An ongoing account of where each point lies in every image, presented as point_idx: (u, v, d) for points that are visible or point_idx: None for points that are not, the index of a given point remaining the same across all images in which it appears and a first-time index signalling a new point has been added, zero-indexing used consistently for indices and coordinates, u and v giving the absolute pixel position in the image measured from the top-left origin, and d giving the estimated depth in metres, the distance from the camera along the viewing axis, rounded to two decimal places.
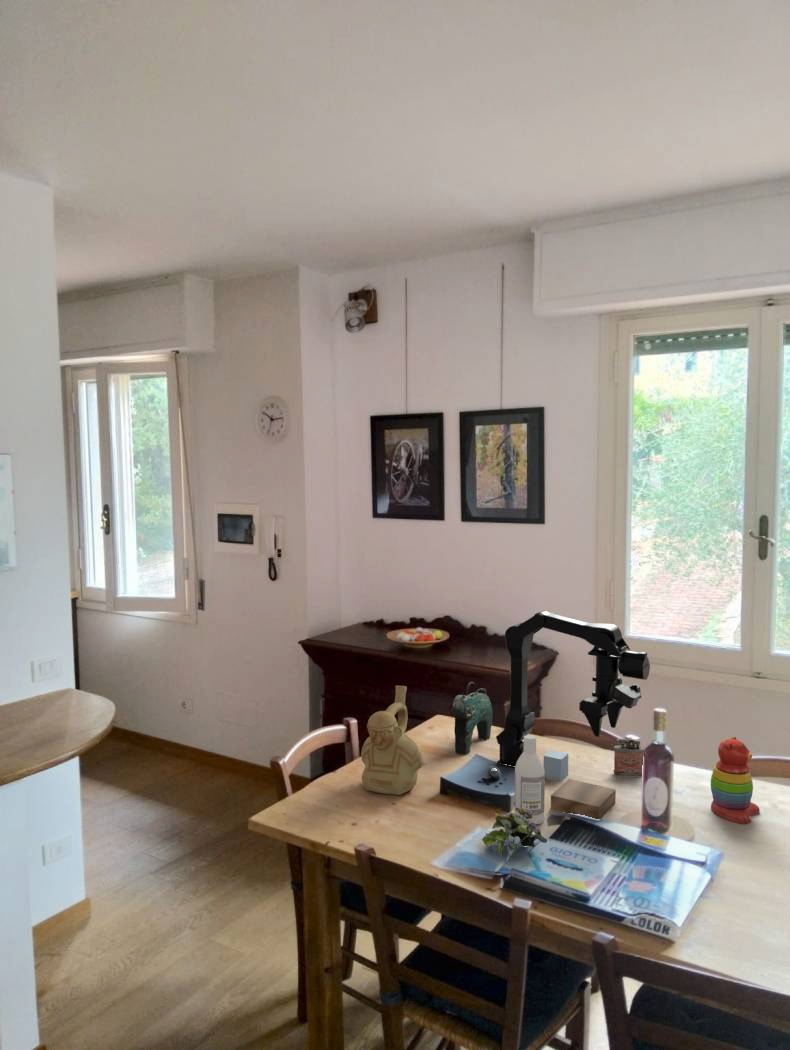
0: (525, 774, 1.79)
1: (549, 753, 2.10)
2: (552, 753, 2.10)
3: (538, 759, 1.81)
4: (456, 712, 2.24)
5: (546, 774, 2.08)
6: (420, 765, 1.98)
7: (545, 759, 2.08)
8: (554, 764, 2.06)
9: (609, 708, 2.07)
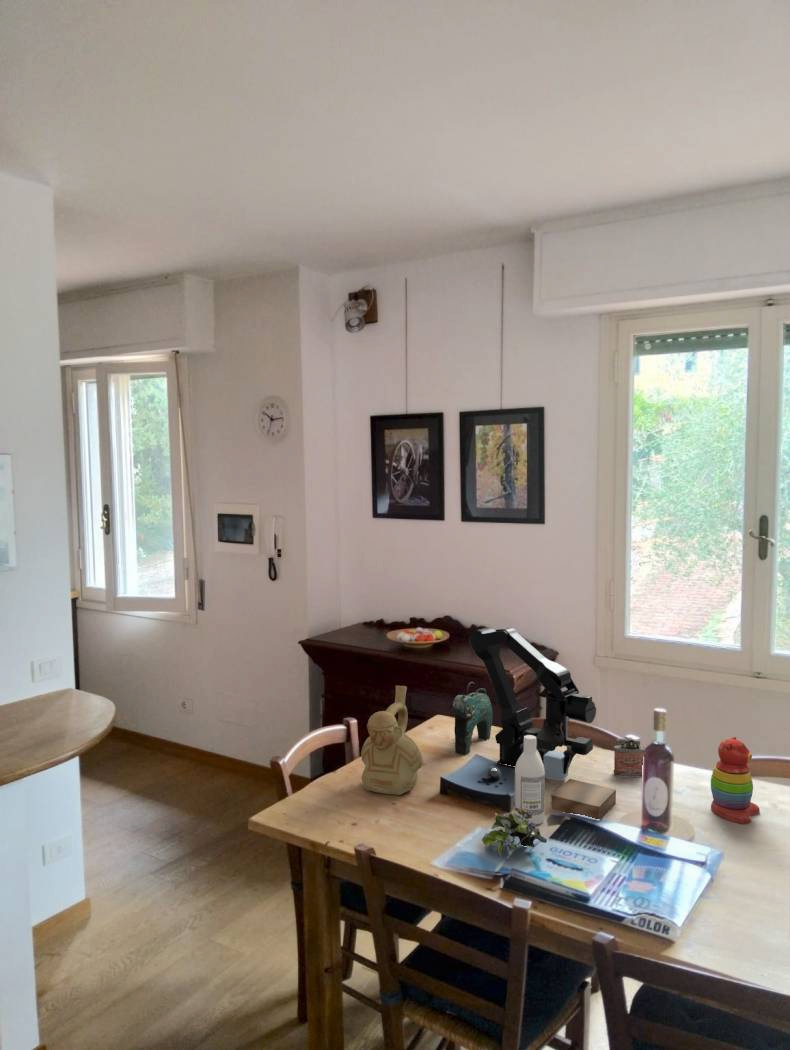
0: (525, 774, 1.79)
1: (549, 753, 2.10)
2: (552, 753, 2.10)
3: (538, 759, 1.81)
4: (456, 712, 2.24)
5: (546, 774, 2.08)
6: (420, 765, 1.98)
7: (545, 759, 2.08)
8: (554, 764, 2.06)
9: None
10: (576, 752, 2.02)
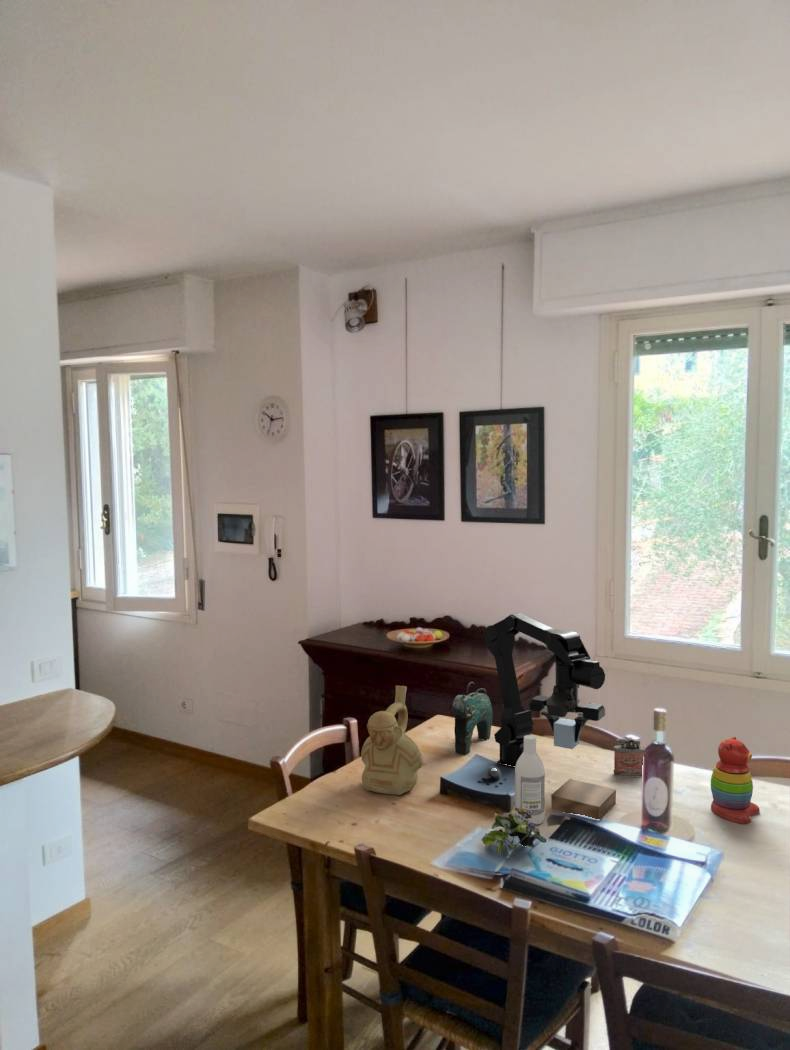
0: (525, 774, 1.79)
1: (559, 721, 2.02)
2: (562, 721, 2.02)
3: (538, 759, 1.81)
4: (456, 712, 2.24)
5: (557, 742, 2.00)
6: (420, 765, 1.98)
7: (555, 727, 2.00)
8: (565, 732, 1.99)
9: None
10: (588, 718, 1.95)
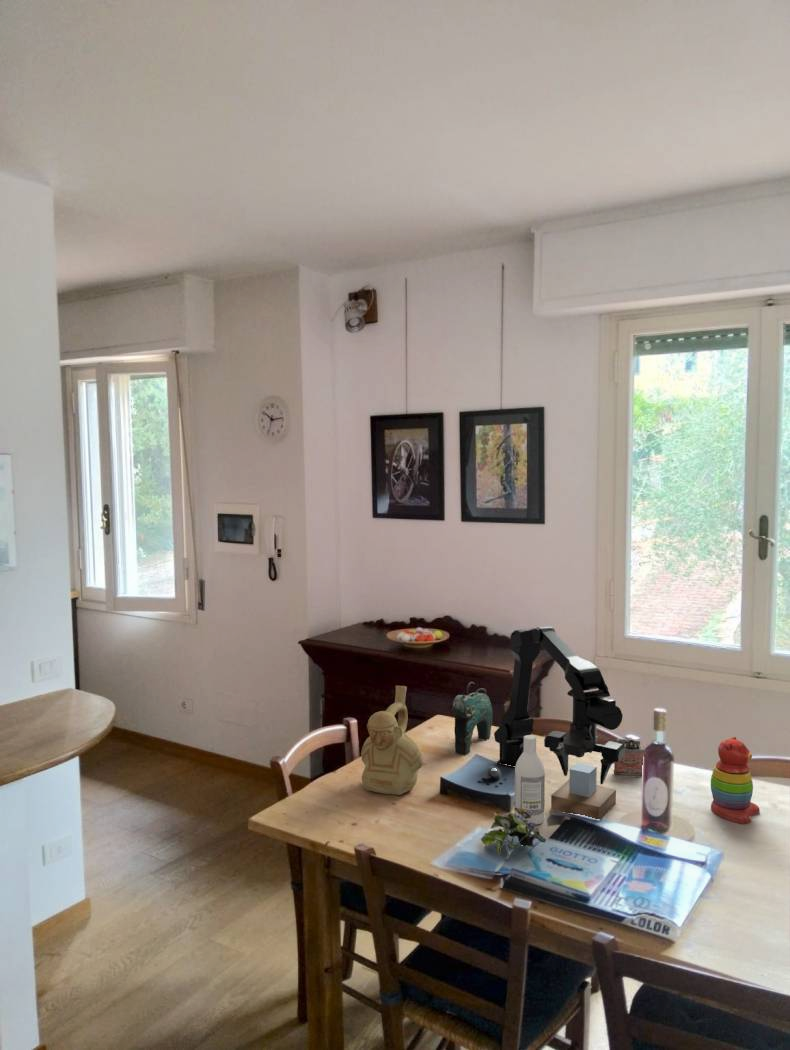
0: (525, 774, 1.79)
1: (575, 766, 1.91)
2: (579, 766, 1.91)
3: (538, 759, 1.81)
4: (456, 712, 2.24)
5: (572, 789, 1.89)
6: (420, 765, 1.98)
7: (571, 773, 1.89)
8: (582, 779, 1.88)
9: None
10: (607, 758, 1.83)
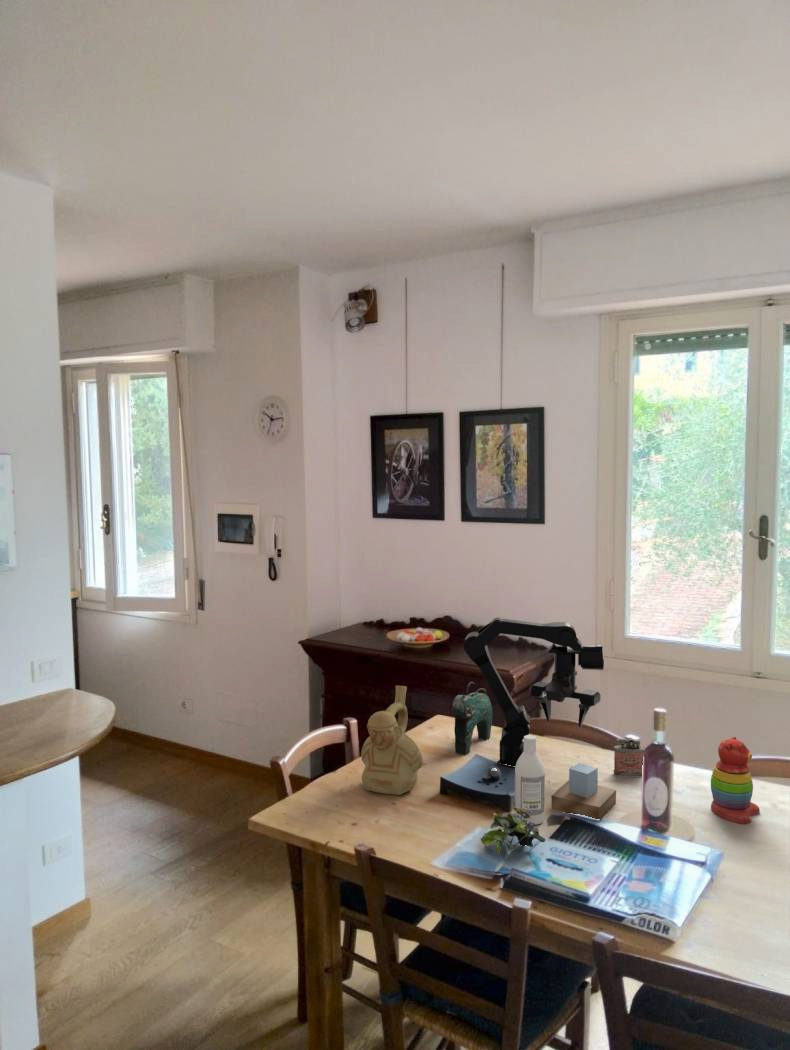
0: (525, 774, 1.79)
1: (576, 766, 1.91)
2: (579, 766, 1.91)
3: (538, 759, 1.81)
4: (456, 712, 2.24)
5: (572, 789, 1.89)
6: (420, 765, 1.98)
7: (571, 773, 1.89)
8: (580, 779, 1.88)
9: None
10: (584, 703, 2.08)
